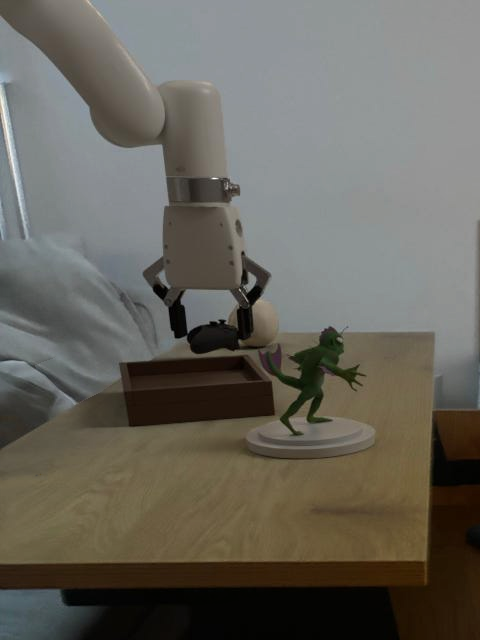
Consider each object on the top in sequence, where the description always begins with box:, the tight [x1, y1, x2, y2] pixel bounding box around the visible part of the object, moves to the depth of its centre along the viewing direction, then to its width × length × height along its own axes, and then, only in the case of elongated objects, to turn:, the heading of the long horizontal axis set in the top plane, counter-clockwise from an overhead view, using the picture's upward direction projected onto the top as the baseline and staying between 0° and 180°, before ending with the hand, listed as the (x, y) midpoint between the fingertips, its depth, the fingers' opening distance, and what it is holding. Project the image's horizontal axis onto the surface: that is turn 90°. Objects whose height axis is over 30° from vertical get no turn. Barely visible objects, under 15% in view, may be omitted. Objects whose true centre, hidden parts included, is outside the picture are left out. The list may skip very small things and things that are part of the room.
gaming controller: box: [186, 318, 241, 355], centre depth 131 cm, size 10×5×6 cm
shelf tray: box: [118, 354, 276, 427], centre depth 108 cm, size 15×18×4 cm
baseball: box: [227, 298, 280, 348], centre depth 143 cm, size 7×7×7 cm
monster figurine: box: [245, 325, 376, 460], centre depth 90 cm, size 12×12×10 cm
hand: (213, 337), depth 131 cm, fingers closed on gaming controller, 8 cm apart
